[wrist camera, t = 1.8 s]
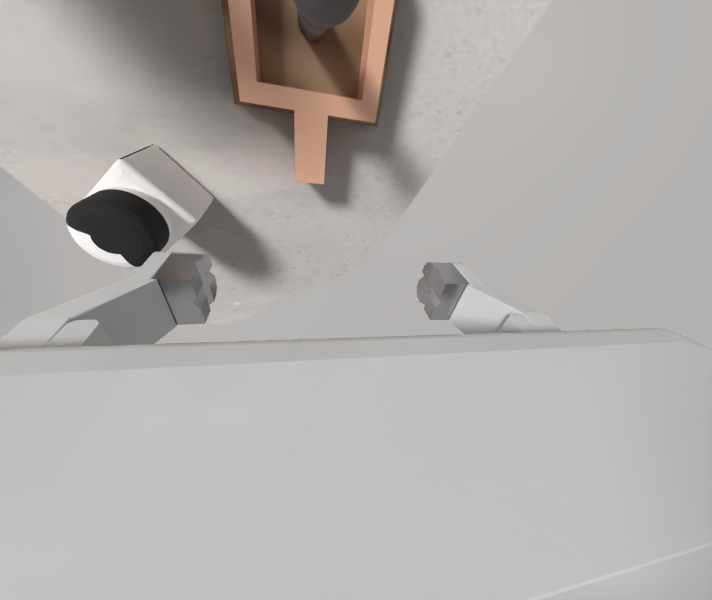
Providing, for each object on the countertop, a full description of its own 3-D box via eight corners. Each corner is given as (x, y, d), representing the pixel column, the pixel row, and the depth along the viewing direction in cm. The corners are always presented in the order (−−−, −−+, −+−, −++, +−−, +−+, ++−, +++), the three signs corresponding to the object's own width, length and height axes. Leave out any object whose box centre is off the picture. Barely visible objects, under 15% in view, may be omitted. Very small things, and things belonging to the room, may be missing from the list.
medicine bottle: (154, 142, 26) (79, 174, 17) (215, 197, 31) (181, 246, 22) (115, 185, 28) (30, 234, 19) (178, 232, 33) (133, 289, 24)
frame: (220, -139, 16) (207, -174, 14) (396, -77, 19) (409, -98, 17) (253, 168, 28) (248, 176, 25) (360, 180, 30) (364, 188, 28)
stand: (209, -139, 17) (-100, -884, 4) (402, -72, 20) (600, -362, 7) (238, 102, 25) (171, 127, 12) (372, 124, 28) (436, 162, 15)
